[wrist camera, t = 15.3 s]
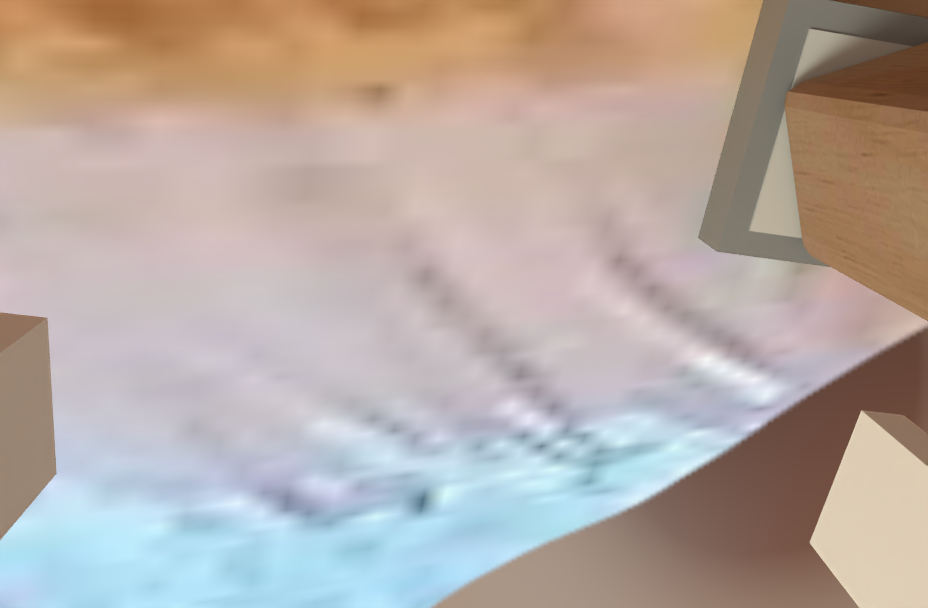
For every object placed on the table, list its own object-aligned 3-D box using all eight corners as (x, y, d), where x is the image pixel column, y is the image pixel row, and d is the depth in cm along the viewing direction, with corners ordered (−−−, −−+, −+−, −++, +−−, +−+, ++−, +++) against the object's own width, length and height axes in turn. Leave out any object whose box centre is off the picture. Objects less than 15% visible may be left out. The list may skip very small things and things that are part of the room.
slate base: (764, -4, 39) (792, -7, 36) (993, 36, 40) (1038, 36, 38) (698, 238, 44) (718, 252, 41) (905, 266, 45) (938, 282, 42)
